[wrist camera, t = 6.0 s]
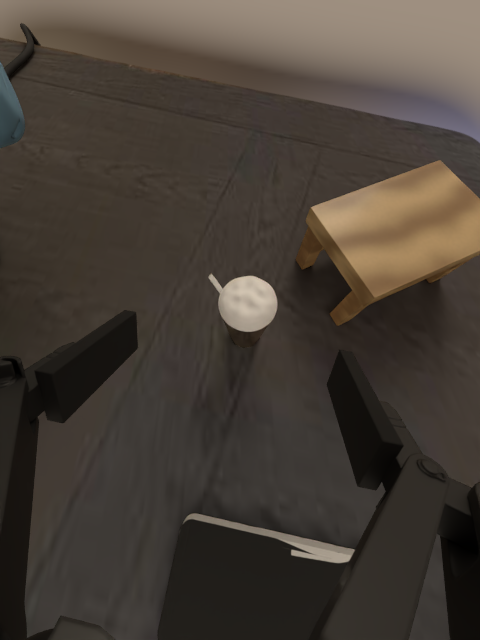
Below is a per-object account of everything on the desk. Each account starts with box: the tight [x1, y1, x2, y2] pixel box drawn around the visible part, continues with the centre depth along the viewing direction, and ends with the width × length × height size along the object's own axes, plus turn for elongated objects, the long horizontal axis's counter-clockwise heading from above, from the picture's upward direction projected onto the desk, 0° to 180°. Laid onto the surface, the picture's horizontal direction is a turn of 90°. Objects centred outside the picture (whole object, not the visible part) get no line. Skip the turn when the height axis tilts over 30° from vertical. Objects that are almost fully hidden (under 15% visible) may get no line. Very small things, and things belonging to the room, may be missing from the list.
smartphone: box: [158, 513, 355, 640], centre depth 19 cm, size 8×1×15 cm
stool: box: [296, 160, 480, 326], centre depth 26 cm, size 10×15×8 cm, turn 114°
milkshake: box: [208, 273, 277, 348], centre depth 22 cm, size 4×5×10 cm
